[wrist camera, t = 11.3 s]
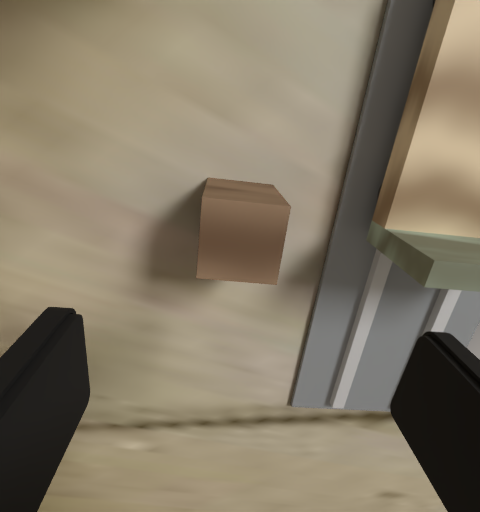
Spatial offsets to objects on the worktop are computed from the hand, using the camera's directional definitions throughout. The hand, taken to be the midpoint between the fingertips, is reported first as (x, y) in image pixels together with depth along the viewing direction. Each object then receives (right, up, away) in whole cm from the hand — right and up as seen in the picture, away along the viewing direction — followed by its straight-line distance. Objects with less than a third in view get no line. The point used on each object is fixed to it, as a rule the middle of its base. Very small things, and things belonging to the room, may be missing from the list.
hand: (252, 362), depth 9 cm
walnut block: (-1, +6, +16) cm, 17 cm away
